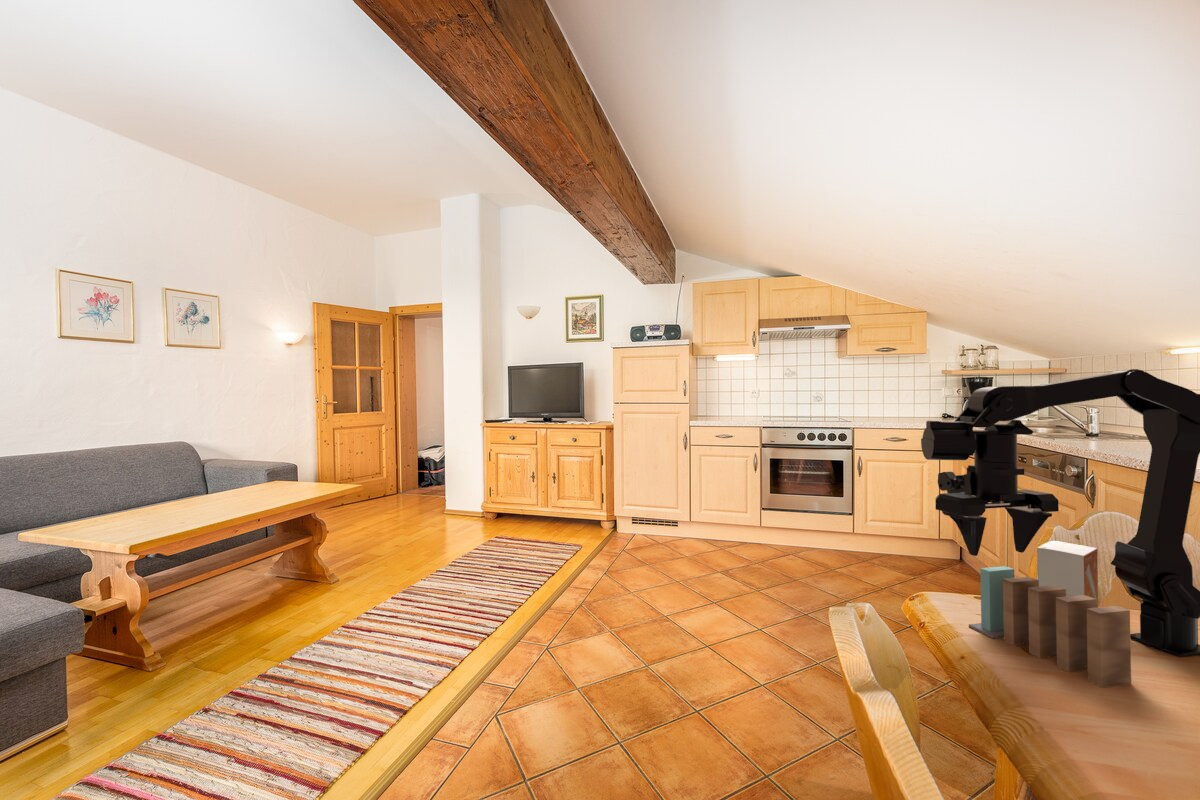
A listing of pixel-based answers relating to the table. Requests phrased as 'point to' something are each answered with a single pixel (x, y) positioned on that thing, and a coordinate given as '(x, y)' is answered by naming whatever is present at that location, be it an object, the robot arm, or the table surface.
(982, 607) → the domino
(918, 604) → the table surface
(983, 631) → the end pad
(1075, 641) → the domino
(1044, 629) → the domino
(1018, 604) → the domino
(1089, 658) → the domino
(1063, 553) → the small box
